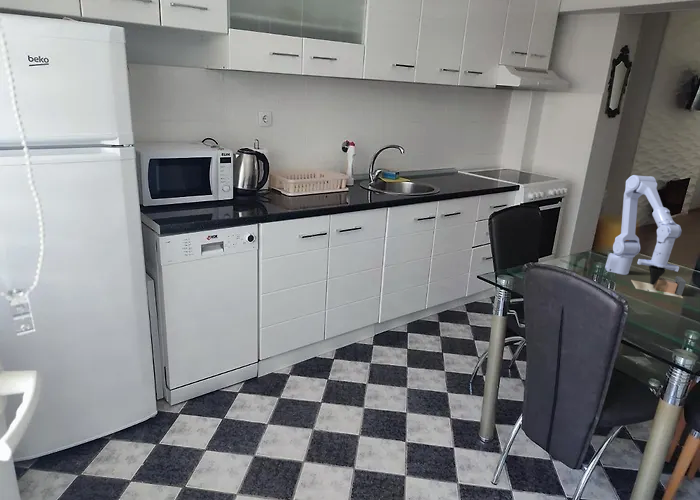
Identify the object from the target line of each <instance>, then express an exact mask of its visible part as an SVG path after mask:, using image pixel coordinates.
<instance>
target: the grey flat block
mask: <svg viewBox="0 0 700 500" xmlns="http://www.w3.org/2000/svg"><path fill="white" fill-rule="evenodd" d="M674 281H675V282H676V283H677V284H678V285H677V288H676V291H675V294H676V295H680V296H682V295H683V293H684V290H685V287H686V283H687V281H686V280H685V279H684V278H683V276H679V275H678V276H677V275H676V276H675V278H674ZM682 297H683V296H682Z"/></svg>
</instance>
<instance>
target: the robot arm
mask: <svg viewBox="0 0 700 500" xmlns="http://www.w3.org/2000/svg"><path fill="white" fill-rule="evenodd" d="M657 187H658V183H657V180H656V177H654V176H652V175H649V176H648V175H637V174H633V175H631V176H629V177H628V178H627V179H626V180H625V189H624V193H623V202H622V216H621V217H622V218H621V228H620V234H619V235H617V236H616V237H614V238H615V239H614V242H613V244H612V250H613V251H612V252H613V253H612V252H609V254H608V255H607V260H606V263H605V266H604V269H605V271H607V272H609V273H615V274H617V275H629V272H630V269H631V266H632V263H633V259H634V258H635V257H636V256H637V255H638V254H639V253H640V251H641V243H640V238H639V237H638V236H637V234H636V229H637V228H636V227H637V216H638V203H639V199H640V197H641V196H643V195H644V196H645V197H646V199H647V201H648V202H649V204H650V206H651V208H652V210H653V212H652V213H651V215H652V217H653V219H654V221H655V223H656V226H657V229H656V244H655V246H654V250H653V252H652V256H651V259H645V258H644V259H643V258H638V260H637V265H639V266H640V265H643V266H647V267H648V269H649V277H650V278H649V283H650V284H652V285H654V284H655V282H656V281H657V279H658V278H659V277H660V278H661V276H662V275H663V274H665V272H666V270H669V271H674V272H677V273H678V272H679V269H680V266H679V265H676V264H672V263H668V262H669V259H670V256H671V253H672V250H673V247H674V244H675V241H676V239H678V238H679V237H681V235H682V228H681V225H680V224H677V223H676V222H675V221H674V220H673V217H672V215H671V213H670V212H671V211H670V209H668V208H667V207H664V205H663V202H662V200H661V197H660V195H659V192H658V189H657Z"/></svg>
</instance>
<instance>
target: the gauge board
mask: <svg viewBox="0 0 700 500" xmlns="http://www.w3.org/2000/svg"><path fill="white" fill-rule="evenodd" d="M630 281H631V283H632V284H633V287H635V290H642V291H645V292H650V293H655V294H661V295H664V296H671V297H676V298H679V299H680V298H681V299H684V297H683V296H680V295H676V294H674V293H669V292H664V291H660V290H656V289H655V288H654V286H653V285H652V284H650V282H643V281H639V280H633V279H631V280H630Z"/></svg>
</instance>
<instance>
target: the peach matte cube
mask: <svg viewBox="0 0 700 500" xmlns="http://www.w3.org/2000/svg"><path fill="white" fill-rule="evenodd" d="M665 280H666V281H667V284H666V287H665V290H664V292H669V293H674V294H675V291H676V288H677V285H678V284H677V283H676V282H675V280H669V279H665Z"/></svg>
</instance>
